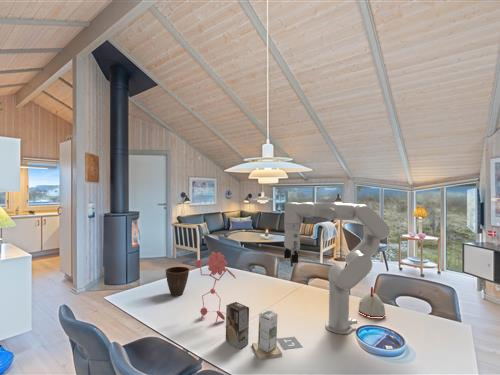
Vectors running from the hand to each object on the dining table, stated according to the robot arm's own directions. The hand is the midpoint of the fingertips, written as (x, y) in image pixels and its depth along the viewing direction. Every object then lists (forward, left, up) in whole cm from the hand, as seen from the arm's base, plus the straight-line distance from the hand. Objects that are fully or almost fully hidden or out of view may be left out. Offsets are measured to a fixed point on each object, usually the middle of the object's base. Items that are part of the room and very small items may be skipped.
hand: (290, 260), depth 140 cm
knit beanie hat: (-53, -6, -34) cm, 63 cm away
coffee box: (+29, +9, -34) cm, 45 cm away
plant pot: (+55, -57, -34) cm, 86 cm away
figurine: (+35, -18, -34) cm, 52 cm away
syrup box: (+18, +18, -32) cm, 41 cm away
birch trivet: (+18, +18, -33) cm, 42 cm away
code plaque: (+6, +14, -33) cm, 37 cm away
